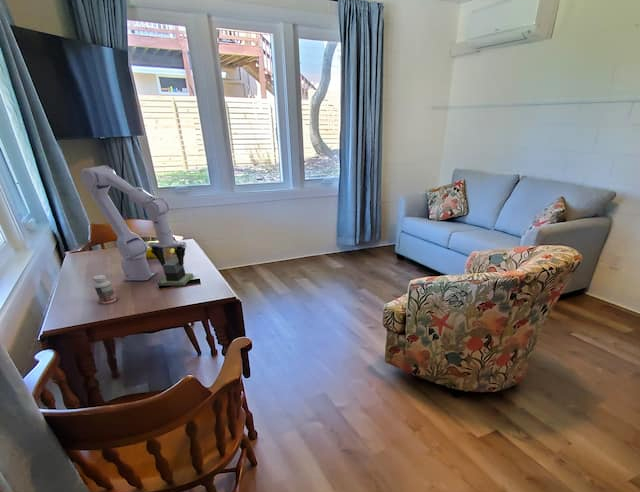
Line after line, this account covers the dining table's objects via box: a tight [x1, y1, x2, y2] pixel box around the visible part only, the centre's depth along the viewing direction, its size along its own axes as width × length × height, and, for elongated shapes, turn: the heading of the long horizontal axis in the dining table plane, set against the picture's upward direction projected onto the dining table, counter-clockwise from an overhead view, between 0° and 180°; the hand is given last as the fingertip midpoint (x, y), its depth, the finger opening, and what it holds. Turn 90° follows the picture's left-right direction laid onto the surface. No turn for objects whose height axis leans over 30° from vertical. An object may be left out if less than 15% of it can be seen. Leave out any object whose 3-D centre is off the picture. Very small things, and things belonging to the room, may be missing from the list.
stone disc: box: [163, 239, 186, 262], centre depth 185 cm, size 10×4×10 cm, turn 119°
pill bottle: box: [92, 274, 117, 304], centre depth 148 cm, size 5×5×10 cm
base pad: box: [158, 272, 194, 287], centre depth 167 cm, size 10×10×1 cm
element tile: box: [144, 240, 175, 260], centre depth 197 cm, size 15×15×5 cm
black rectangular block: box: [164, 267, 186, 281], centre depth 166 cm, size 5×7×3 cm
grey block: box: [161, 259, 185, 274], centre depth 164 cm, size 5×7×3 cm
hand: (172, 265), depth 163 cm, fingers open, 7 cm apart
